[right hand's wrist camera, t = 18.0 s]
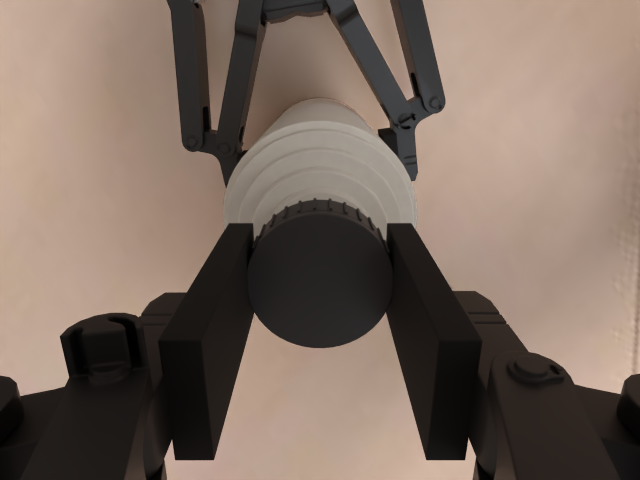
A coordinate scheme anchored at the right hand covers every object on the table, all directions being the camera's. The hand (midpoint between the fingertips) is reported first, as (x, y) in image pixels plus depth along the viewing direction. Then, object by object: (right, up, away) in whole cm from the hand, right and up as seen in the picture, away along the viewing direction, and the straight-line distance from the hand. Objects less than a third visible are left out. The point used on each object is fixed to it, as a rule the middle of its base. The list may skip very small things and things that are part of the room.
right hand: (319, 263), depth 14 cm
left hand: (+1, +1, +15) cm, 16 cm away
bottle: (0, +7, +19) cm, 21 cm away
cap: (0, 0, -1) cm, 1 cm away
